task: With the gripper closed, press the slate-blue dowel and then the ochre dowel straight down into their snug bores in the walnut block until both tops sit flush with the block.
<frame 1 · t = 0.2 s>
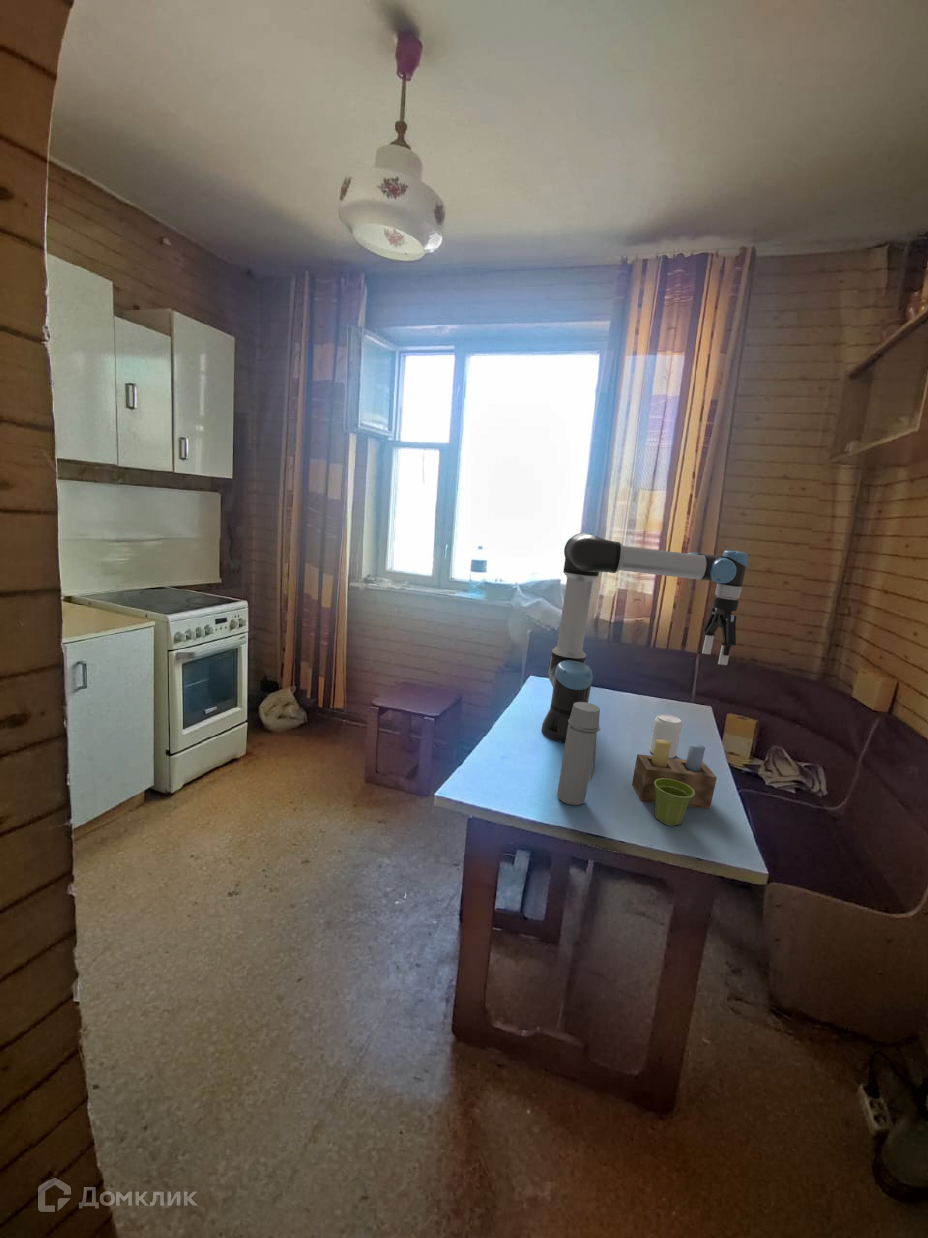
hand: (714, 658, 195), 28 cm above the table, fingers open, 13 cm apart
water bottle: (573, 799, 146), on the table
walnut block: (669, 796, 153), on the table
beverage can: (662, 754, 181), on the table
plant pot: (667, 820, 141), on the table
ochre peg: (660, 756, 151), point 11 cm above the table, slide at 0.0 cm
blue peg: (694, 760, 151), point 11 cm above the table, slide at 0.0 cm
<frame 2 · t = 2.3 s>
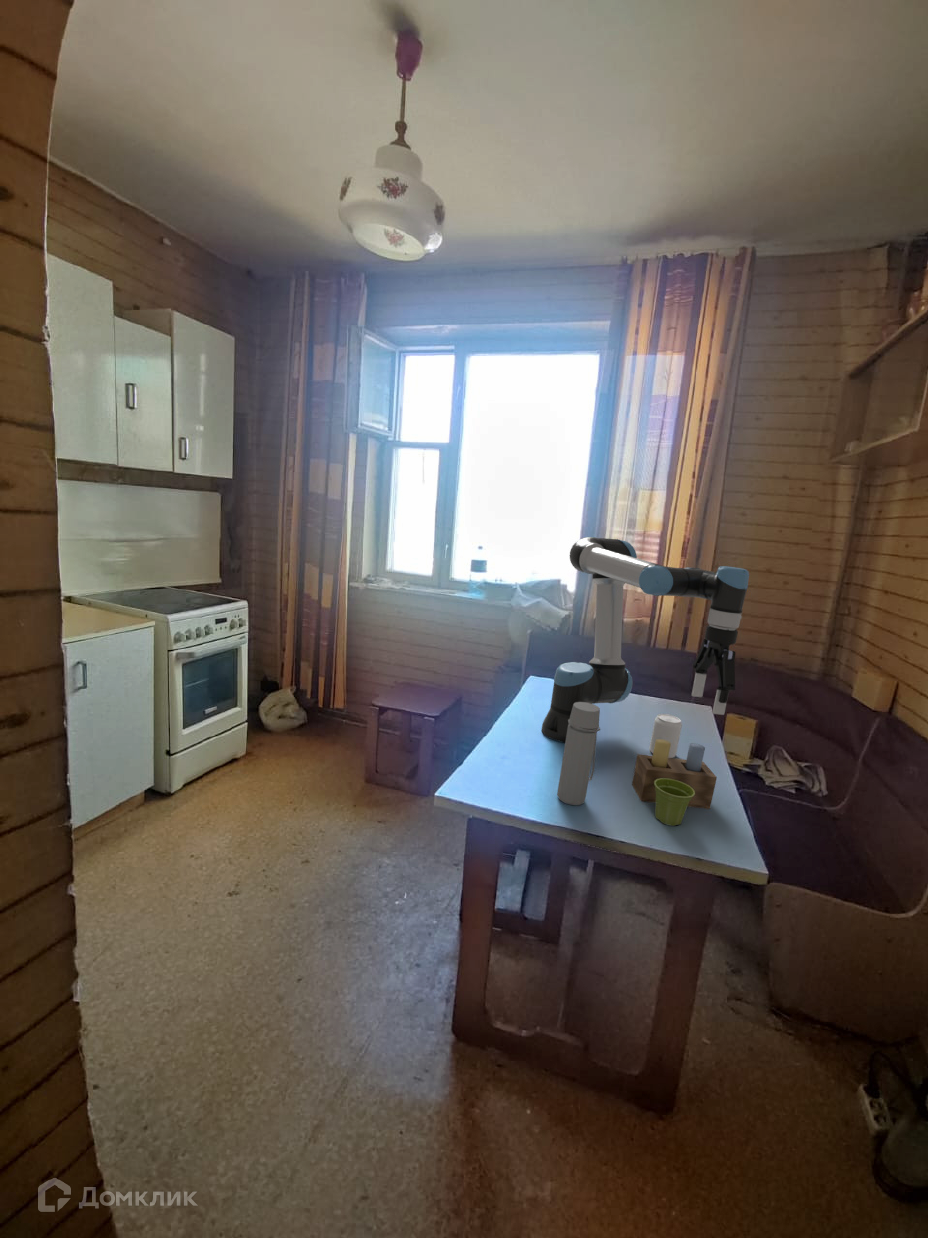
hand: (706, 704, 152), 25 cm above the table, fingers open, 13 cm apart
nothing on the table moved.
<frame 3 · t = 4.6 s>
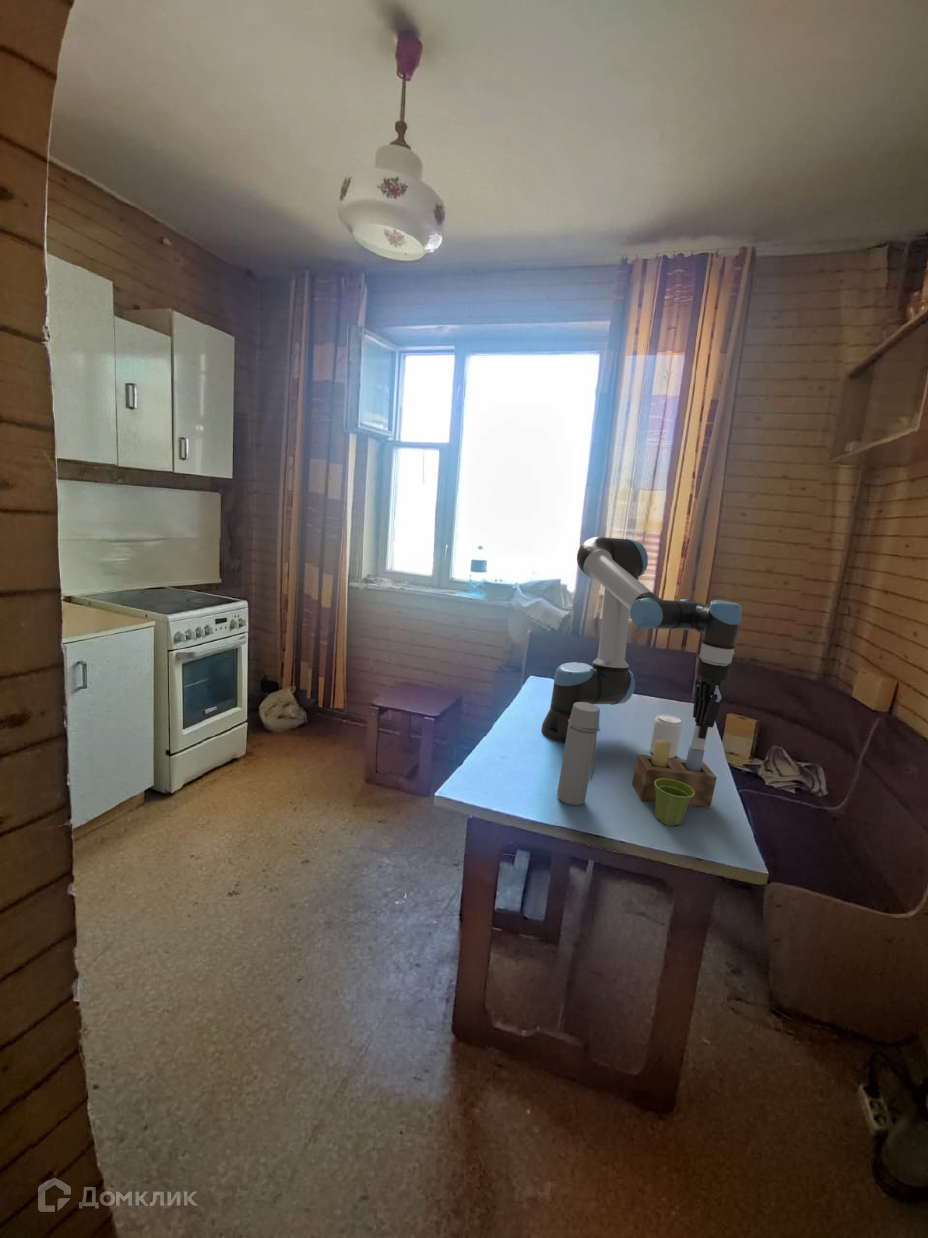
hand: (697, 748, 150), 15 cm above the table, fingers closed
blue peg: (693, 763, 151), point 10 cm above the table, slide at 0.8 cm, touching gripper
everything else where it was.
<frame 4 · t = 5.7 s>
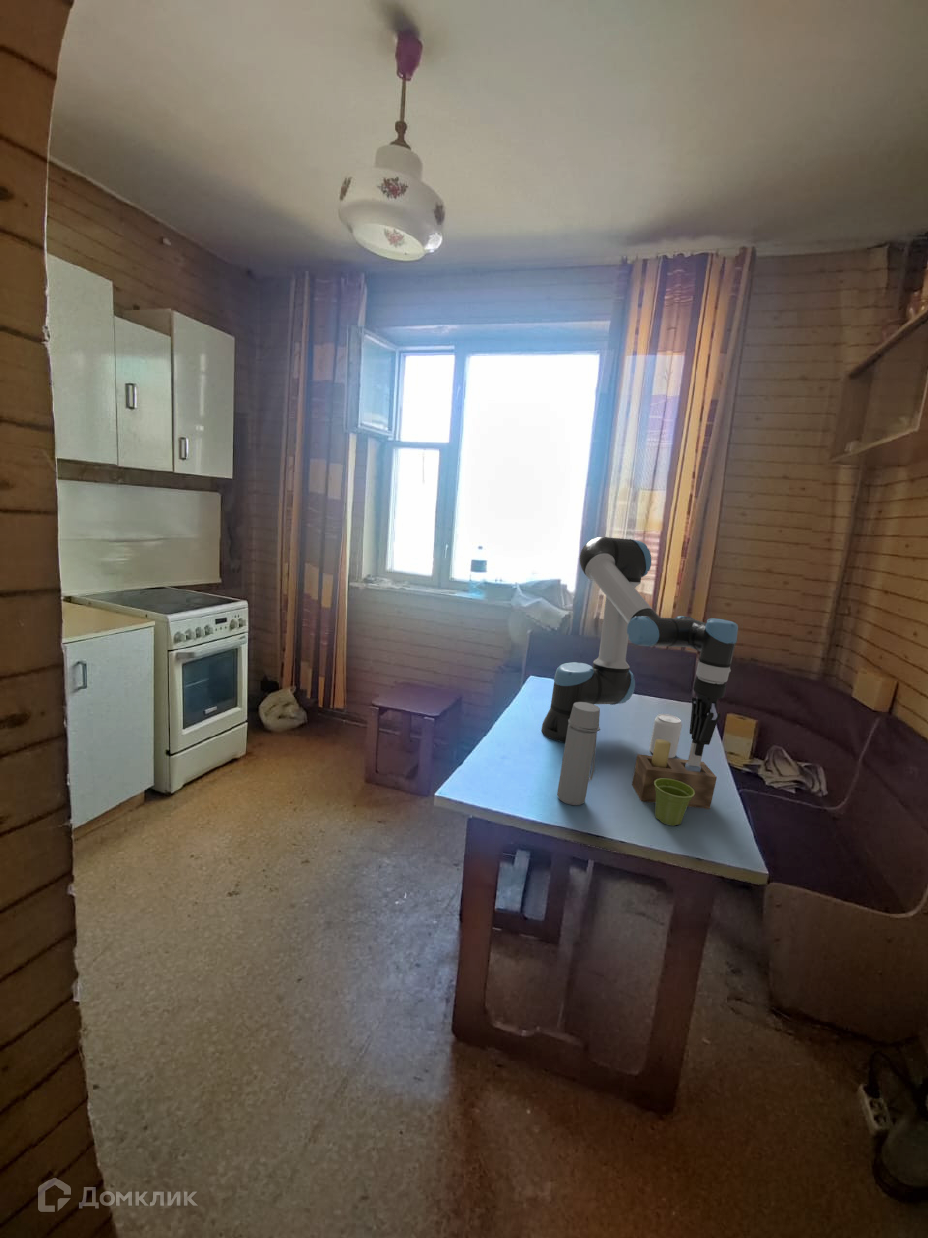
hand: (693, 764, 151), 10 cm above the table, fingers closed
blue peg: (690, 779, 152), point 6 cm above the table, slide at 5.5 cm, touching gripper
everything else where it was.
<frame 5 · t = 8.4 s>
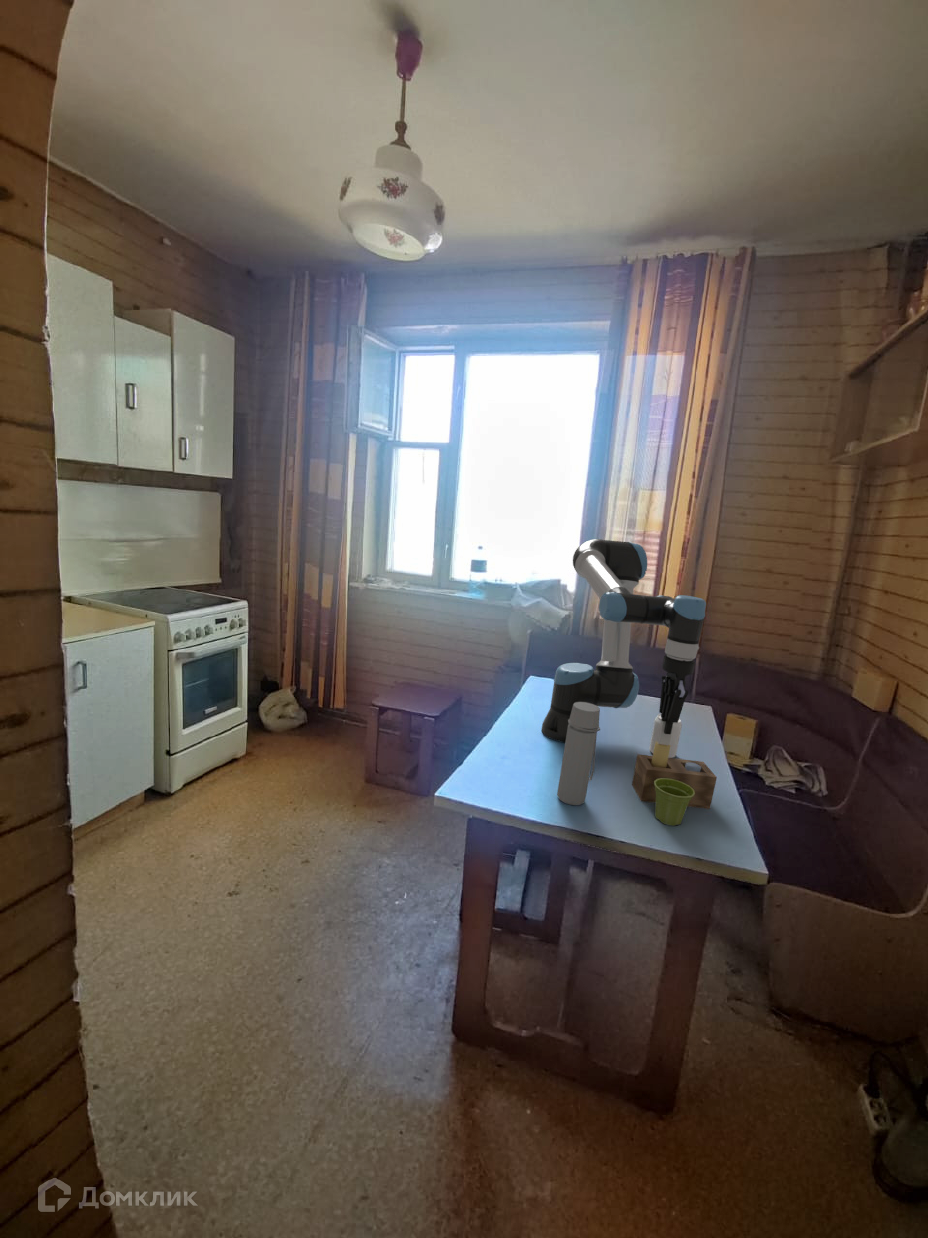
hand: (663, 743, 150), 15 cm above the table, fingers closed
ochre peg: (660, 758, 151), point 10 cm above the table, slide at 0.6 cm, touching gripper
blue peg: (690, 779, 152), point 5 cm above the table, slide at 5.5 cm
everything else where it was.
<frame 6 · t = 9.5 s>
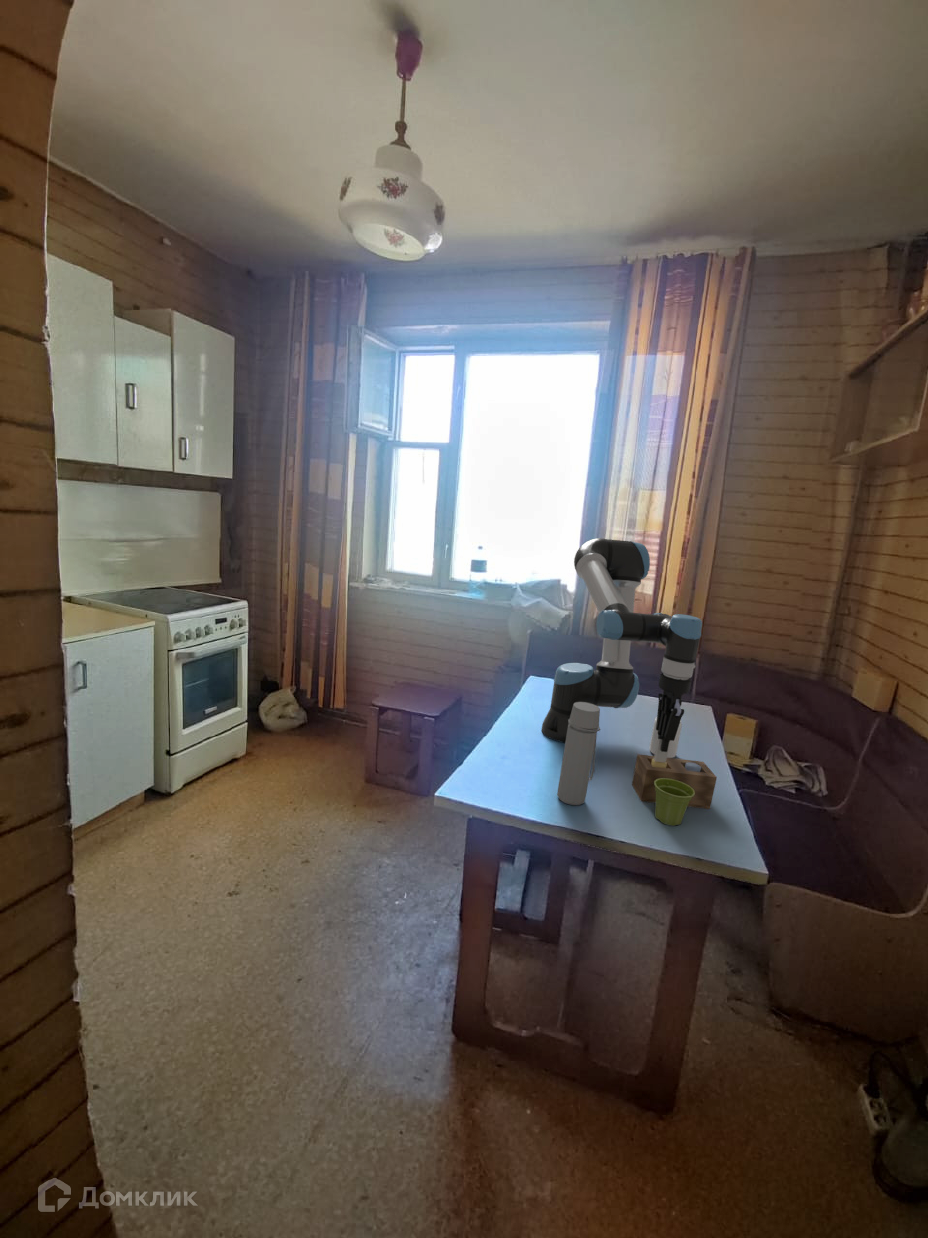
hand: (659, 760, 151), 10 cm above the table, fingers closed
ochre peg: (656, 775, 152), point 6 cm above the table, slide at 5.5 cm, touching gripper
everything else where it was.
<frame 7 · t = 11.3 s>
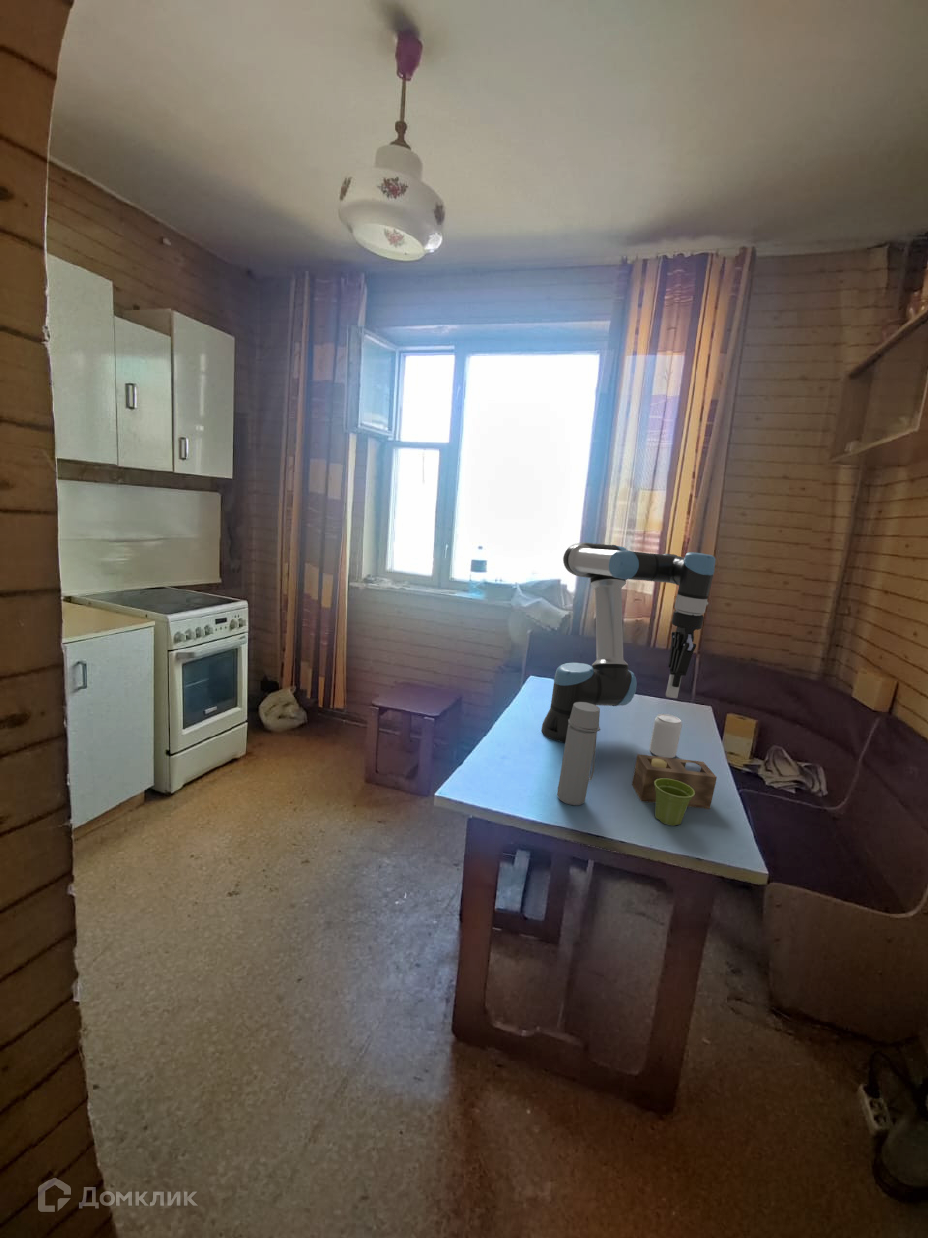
hand: (671, 696, 156), 25 cm above the table, fingers closed
ochre peg: (656, 775, 152), point 5 cm above the table, slide at 5.5 cm
everything else where it was.
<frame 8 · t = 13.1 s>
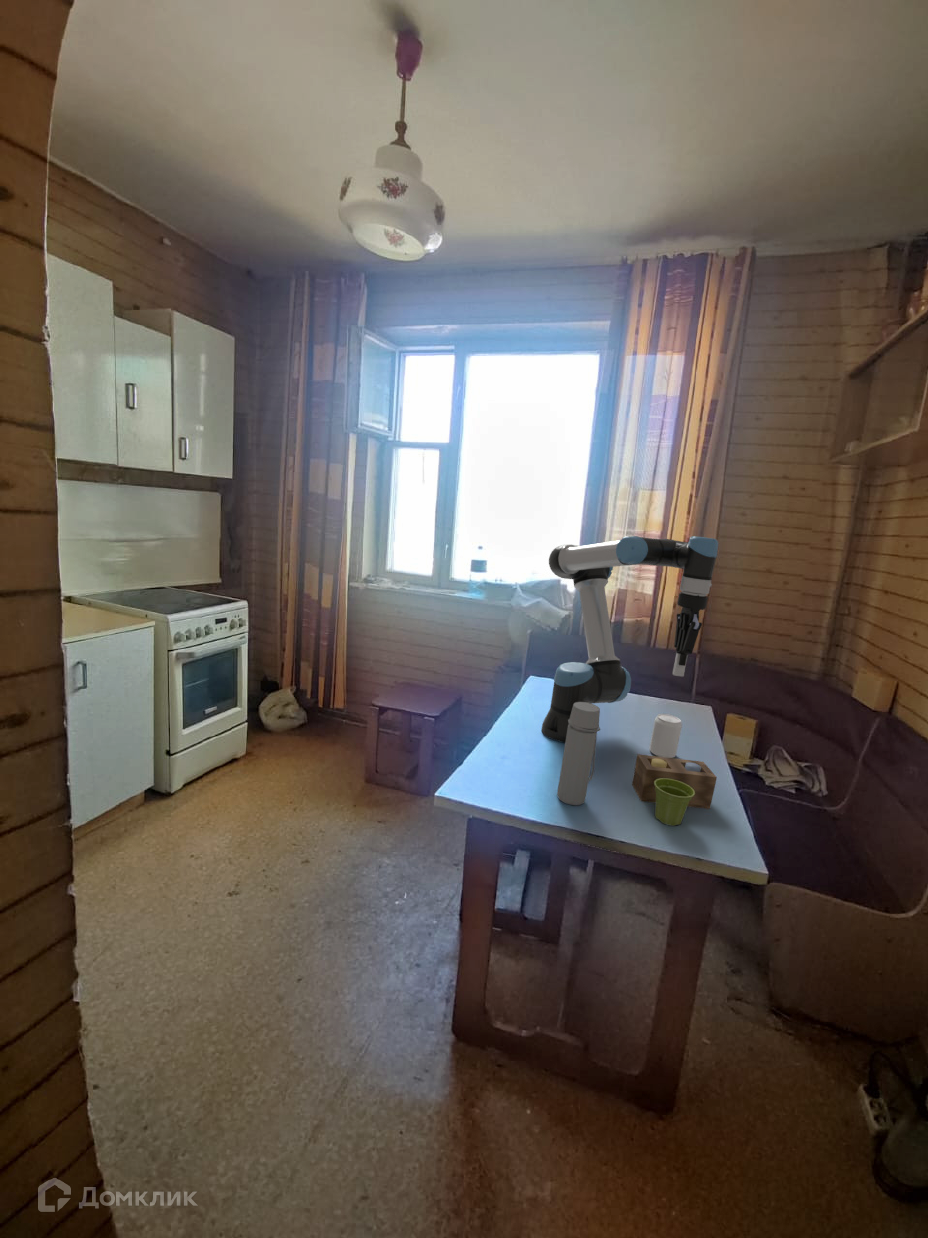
hand: (677, 675, 163), 29 cm above the table, fingers closed
nothing on the table moved.
at the end: blue peg slide at 5.5 cm; ochre peg slide at 5.5 cm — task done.
